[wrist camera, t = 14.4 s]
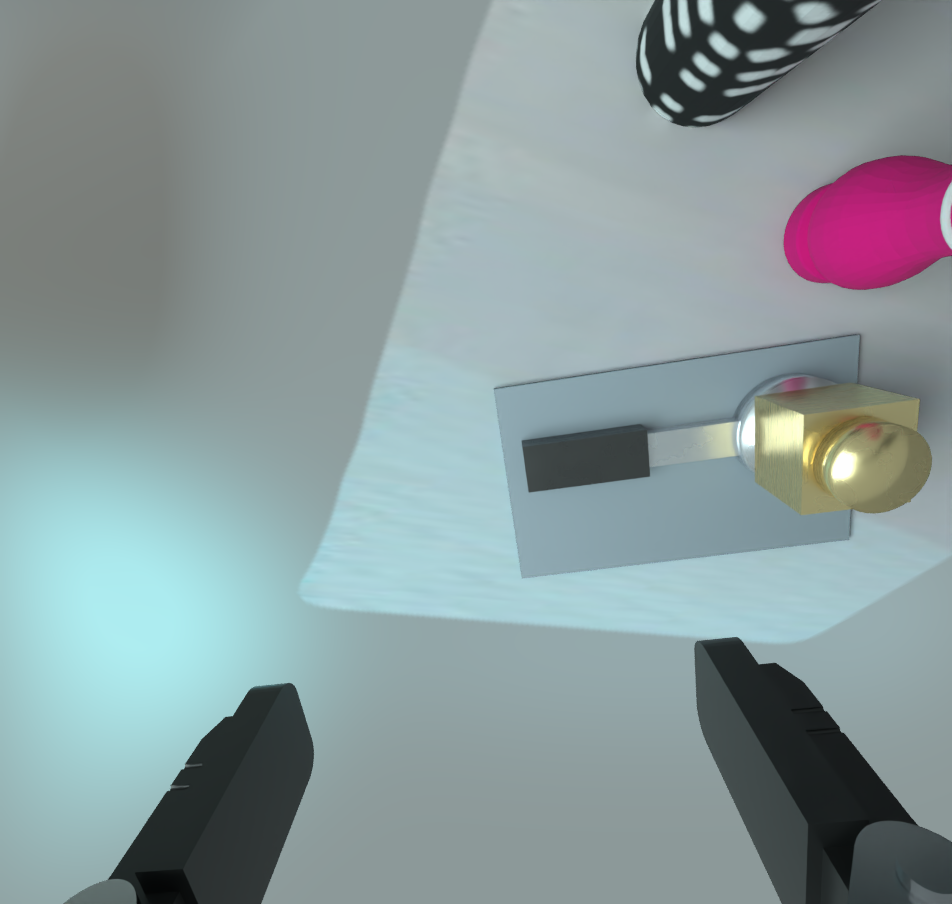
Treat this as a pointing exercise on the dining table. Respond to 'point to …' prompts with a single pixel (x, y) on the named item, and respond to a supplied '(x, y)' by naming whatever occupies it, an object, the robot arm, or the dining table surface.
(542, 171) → the dining table surface
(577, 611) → the dining table surface
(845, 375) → the mat
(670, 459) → the metal ladle
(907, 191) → the pepper mill
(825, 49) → the dining table surface
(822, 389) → the brass knob block
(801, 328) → the dining table surface
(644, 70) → the spotted tube
